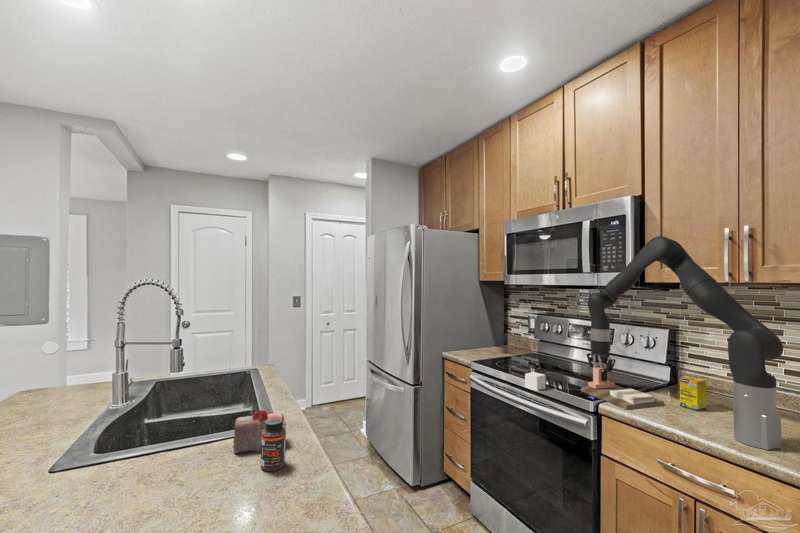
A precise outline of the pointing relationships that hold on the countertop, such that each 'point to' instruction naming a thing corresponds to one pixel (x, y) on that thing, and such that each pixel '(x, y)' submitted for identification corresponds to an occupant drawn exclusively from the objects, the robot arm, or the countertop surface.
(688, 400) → the supplement box
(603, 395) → the board
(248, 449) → the pink box with bow
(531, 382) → the white cube
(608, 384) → the stub
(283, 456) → the supplement bottle
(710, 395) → the countertop surface
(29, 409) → the countertop surface
